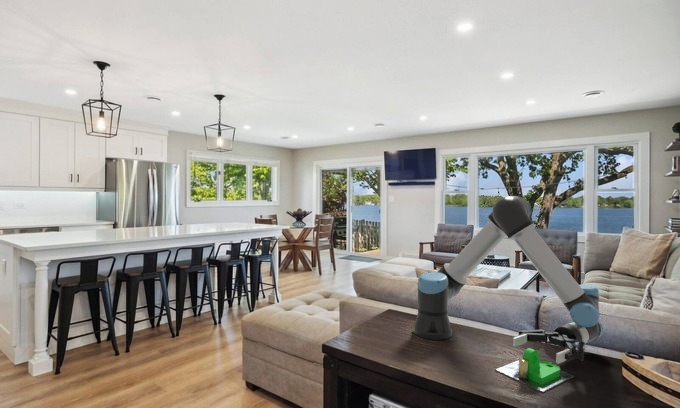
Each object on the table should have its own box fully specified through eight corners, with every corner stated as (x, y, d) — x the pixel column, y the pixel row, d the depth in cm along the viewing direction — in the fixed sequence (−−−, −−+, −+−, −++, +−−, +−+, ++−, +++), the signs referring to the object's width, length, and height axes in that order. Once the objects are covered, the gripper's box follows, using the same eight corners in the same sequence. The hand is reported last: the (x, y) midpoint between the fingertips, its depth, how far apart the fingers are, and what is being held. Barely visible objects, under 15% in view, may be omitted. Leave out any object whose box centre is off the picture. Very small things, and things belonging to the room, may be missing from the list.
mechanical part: (542, 384, 106) (542, 357, 105) (522, 376, 111) (522, 350, 110) (563, 374, 112) (564, 348, 112) (544, 366, 117) (544, 341, 117)
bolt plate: (495, 370, 115) (495, 352, 115) (526, 357, 124) (527, 340, 124) (542, 392, 102) (542, 371, 102) (574, 376, 111) (574, 357, 111)
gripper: (613, 361, 112) (578, 379, 101) (534, 334, 134) (498, 347, 123) (613, 337, 112) (578, 353, 101) (534, 314, 133) (498, 325, 122)
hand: (534, 350), depth 112 cm, fingers open, 13 cm apart
